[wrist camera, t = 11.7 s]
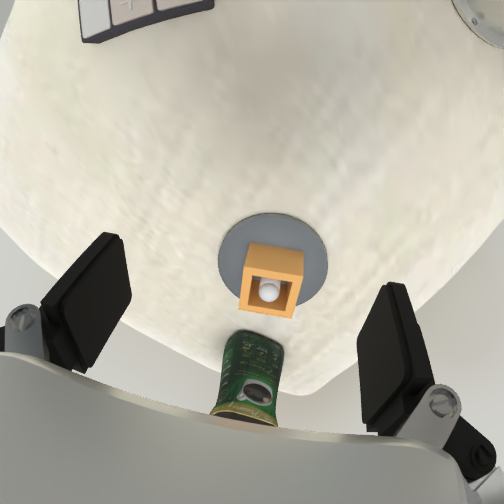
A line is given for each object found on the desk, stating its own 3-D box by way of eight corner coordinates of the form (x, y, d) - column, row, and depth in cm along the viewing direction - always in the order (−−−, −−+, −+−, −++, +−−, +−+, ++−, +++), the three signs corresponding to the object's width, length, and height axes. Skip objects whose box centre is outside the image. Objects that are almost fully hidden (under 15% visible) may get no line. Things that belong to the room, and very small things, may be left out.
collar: (303, 251, 38) (303, 276, 33) (293, 292, 41) (291, 318, 37) (250, 242, 38) (243, 266, 34) (244, 283, 41) (238, 309, 37)
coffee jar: (220, 349, 52) (194, 444, 37) (239, 323, 48) (214, 430, 32) (268, 369, 54) (255, 463, 38) (292, 346, 49) (284, 450, 34)
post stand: (339, 224, 37) (346, 258, 31) (312, 309, 44) (313, 346, 38) (224, 204, 37) (209, 233, 31) (217, 292, 45) (205, 327, 39)
